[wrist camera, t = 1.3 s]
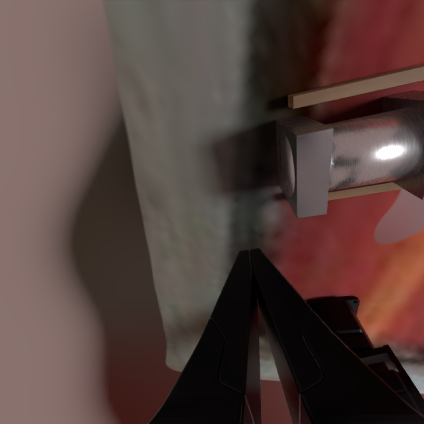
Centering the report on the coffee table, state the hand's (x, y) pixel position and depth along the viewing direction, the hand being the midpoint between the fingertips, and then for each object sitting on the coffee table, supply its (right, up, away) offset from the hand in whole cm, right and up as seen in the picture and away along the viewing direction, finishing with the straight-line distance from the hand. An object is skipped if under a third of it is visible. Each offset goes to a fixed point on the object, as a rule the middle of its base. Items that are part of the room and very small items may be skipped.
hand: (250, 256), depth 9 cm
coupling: (+9, +8, +9) cm, 15 cm away
